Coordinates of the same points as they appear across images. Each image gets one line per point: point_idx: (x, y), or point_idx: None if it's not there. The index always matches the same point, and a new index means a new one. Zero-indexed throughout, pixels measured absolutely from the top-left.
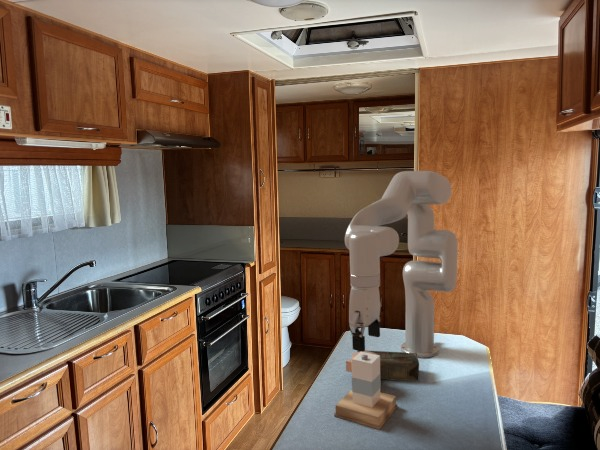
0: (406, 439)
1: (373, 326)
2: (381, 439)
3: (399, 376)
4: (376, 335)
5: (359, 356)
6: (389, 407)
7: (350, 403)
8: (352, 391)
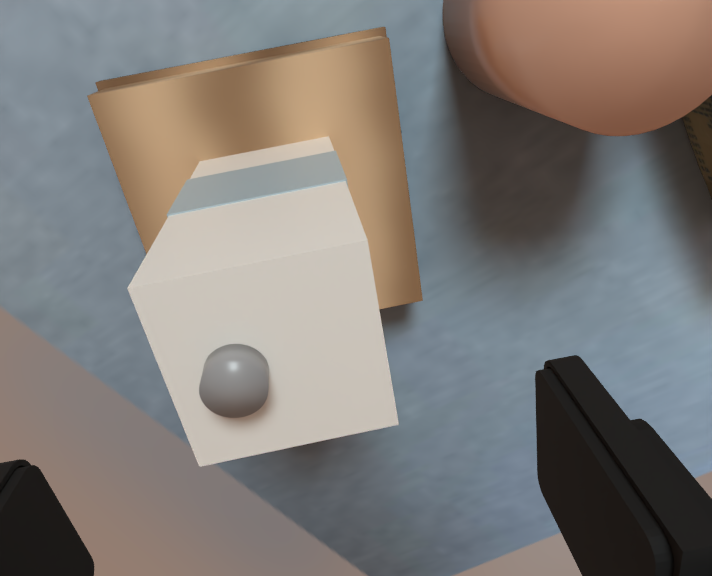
0: None
1: (608, 567)
2: (136, 368)
3: (700, 143)
4: (544, 479)
5: (246, 303)
6: None
7: (180, 157)
8: (187, 181)
